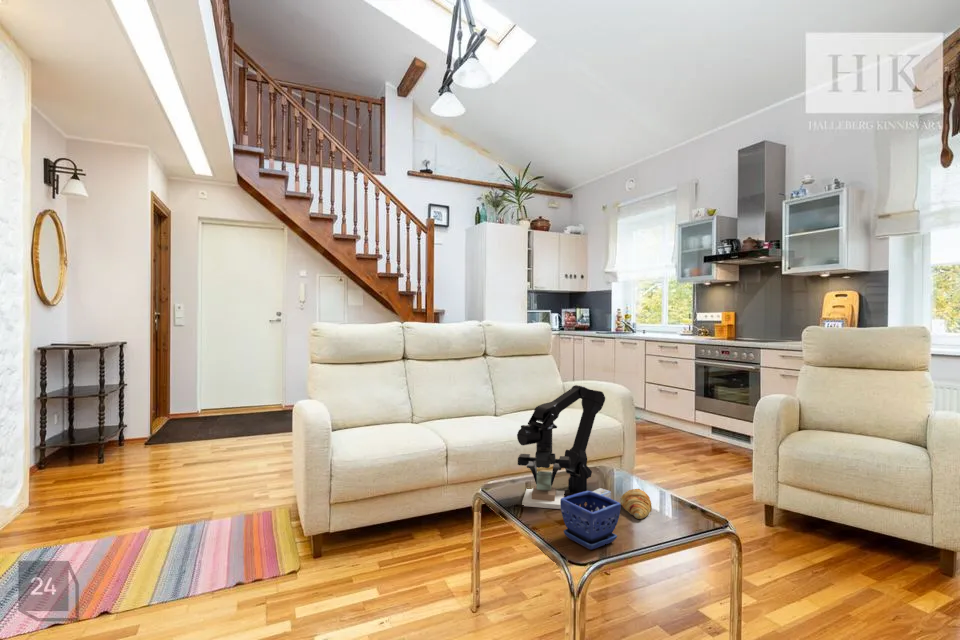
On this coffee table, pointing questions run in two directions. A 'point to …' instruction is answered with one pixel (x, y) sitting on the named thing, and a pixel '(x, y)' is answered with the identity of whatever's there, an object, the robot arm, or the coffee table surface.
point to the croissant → (636, 503)
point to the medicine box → (602, 492)
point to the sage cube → (544, 480)
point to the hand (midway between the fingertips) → (544, 484)
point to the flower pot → (590, 518)
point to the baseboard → (542, 502)
